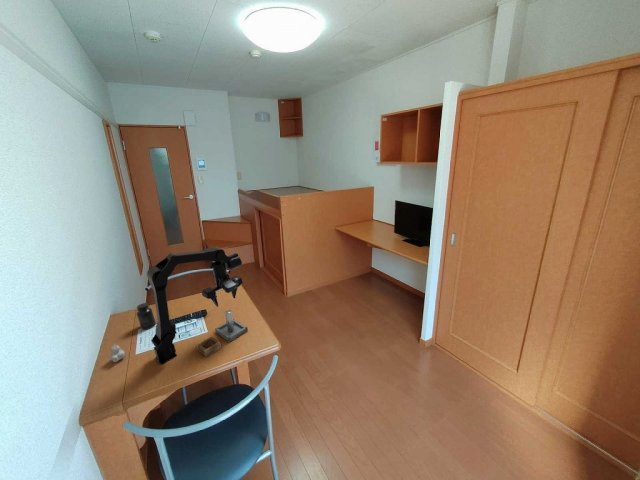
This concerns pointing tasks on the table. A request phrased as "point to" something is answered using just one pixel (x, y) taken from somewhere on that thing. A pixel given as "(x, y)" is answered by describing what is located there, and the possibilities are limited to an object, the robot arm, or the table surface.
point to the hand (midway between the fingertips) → (226, 302)
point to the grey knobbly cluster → (116, 353)
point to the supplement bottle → (145, 316)
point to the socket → (211, 349)
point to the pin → (229, 321)
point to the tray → (231, 336)
